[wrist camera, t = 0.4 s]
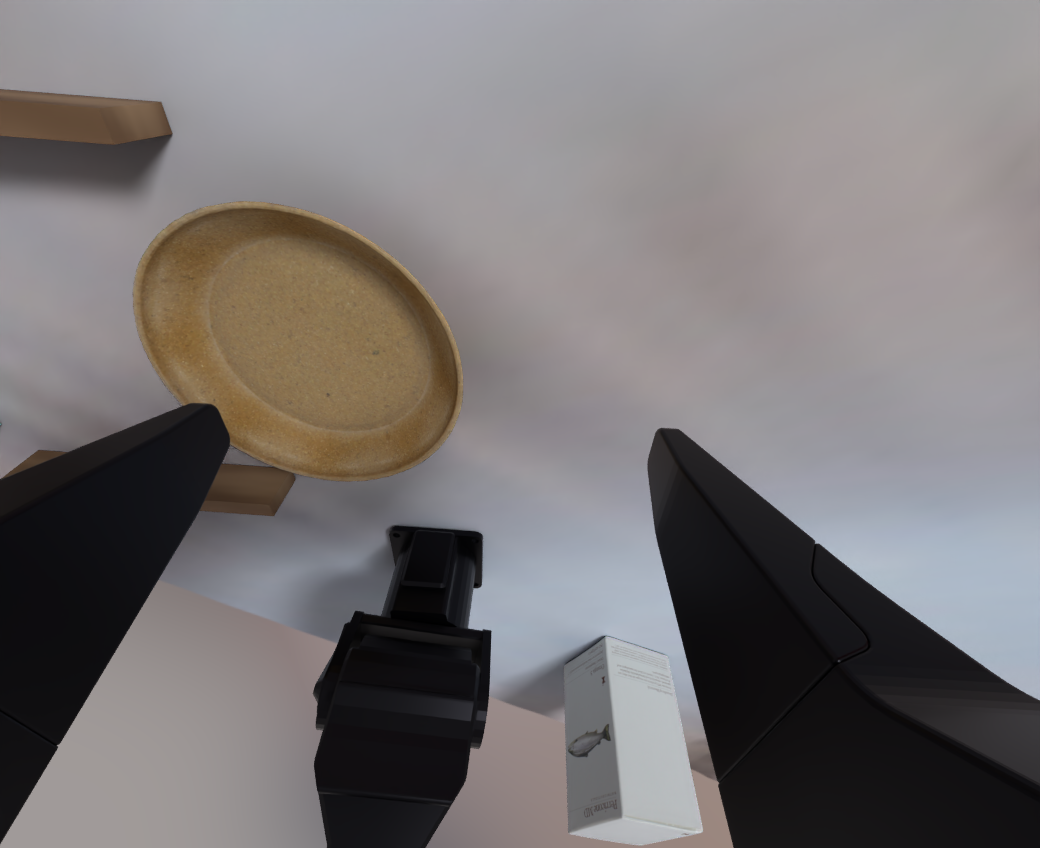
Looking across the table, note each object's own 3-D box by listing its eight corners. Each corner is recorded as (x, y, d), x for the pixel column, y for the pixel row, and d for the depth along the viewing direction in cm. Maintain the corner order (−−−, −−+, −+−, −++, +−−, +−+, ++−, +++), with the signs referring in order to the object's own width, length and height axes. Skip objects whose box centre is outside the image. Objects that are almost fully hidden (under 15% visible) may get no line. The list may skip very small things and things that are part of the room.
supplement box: (604, 633, 40) (624, 819, 30) (669, 654, 42) (708, 835, 32) (560, 663, 44) (565, 836, 34) (621, 682, 46) (642, 850, 36)
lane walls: (295, 479, 29) (273, 516, 27) (47, 461, 29) (4, 496, 27) (160, 102, 17) (98, 108, 14) (-275, 67, 17) (-410, 67, 14)
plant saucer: (397, 140, 17) (378, 150, 15) (504, 428, 26) (501, 459, 24) (98, 238, 20) (48, 258, 18) (285, 468, 29) (265, 499, 27)
